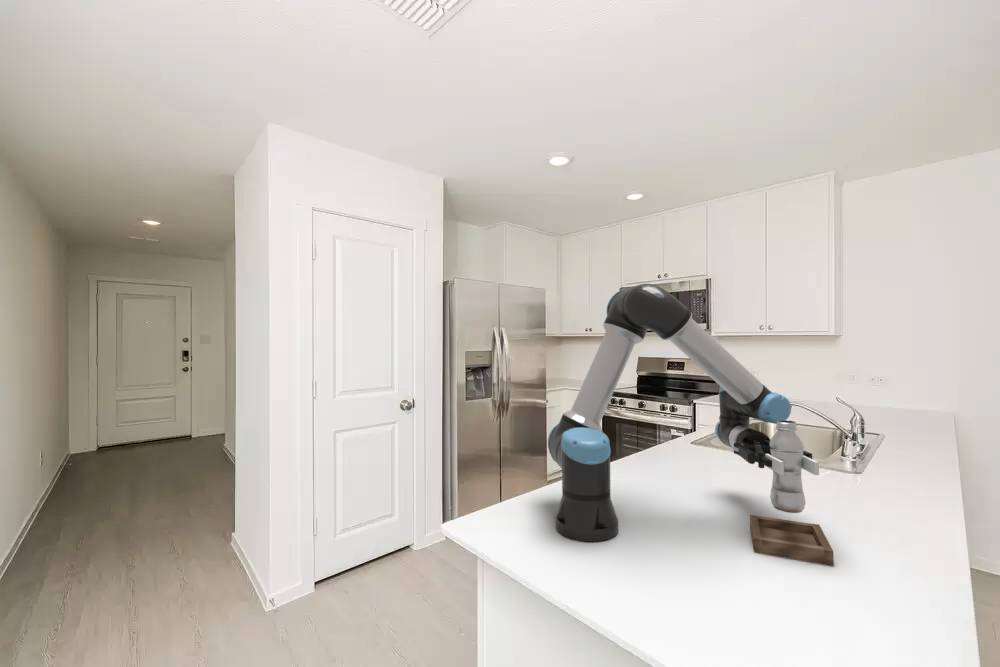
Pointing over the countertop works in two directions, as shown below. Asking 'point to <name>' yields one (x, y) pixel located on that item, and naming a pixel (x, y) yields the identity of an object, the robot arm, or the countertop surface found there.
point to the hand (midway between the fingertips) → (799, 468)
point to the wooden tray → (790, 540)
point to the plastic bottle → (787, 468)
